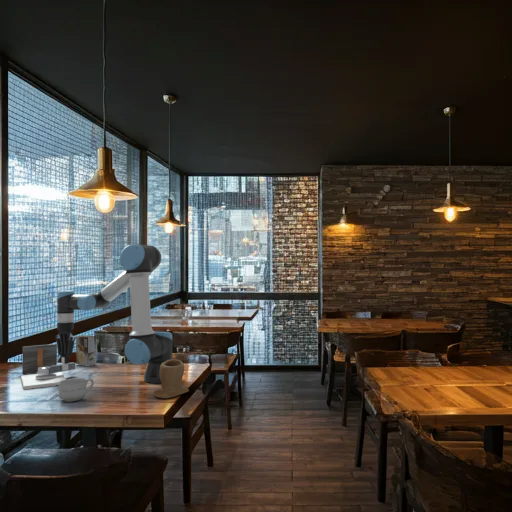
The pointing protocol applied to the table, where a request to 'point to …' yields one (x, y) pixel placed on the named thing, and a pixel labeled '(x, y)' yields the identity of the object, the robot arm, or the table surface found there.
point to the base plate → (40, 381)
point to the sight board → (38, 357)
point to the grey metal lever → (52, 371)
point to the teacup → (74, 389)
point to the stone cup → (171, 379)
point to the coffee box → (86, 350)
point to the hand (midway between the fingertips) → (64, 370)
